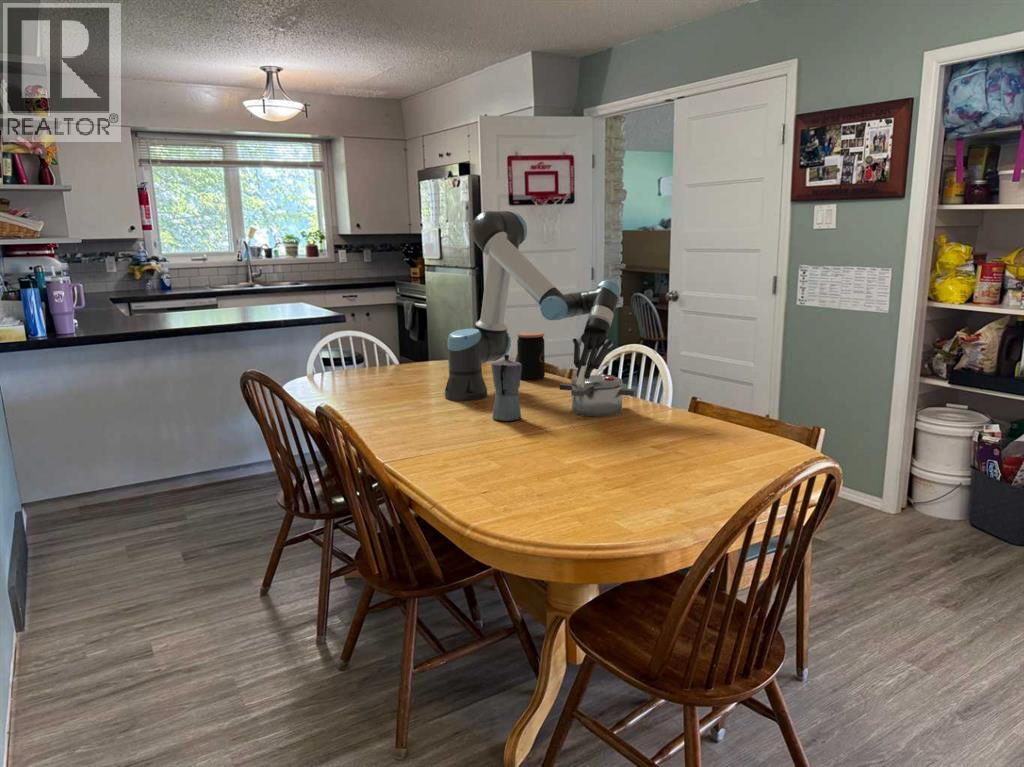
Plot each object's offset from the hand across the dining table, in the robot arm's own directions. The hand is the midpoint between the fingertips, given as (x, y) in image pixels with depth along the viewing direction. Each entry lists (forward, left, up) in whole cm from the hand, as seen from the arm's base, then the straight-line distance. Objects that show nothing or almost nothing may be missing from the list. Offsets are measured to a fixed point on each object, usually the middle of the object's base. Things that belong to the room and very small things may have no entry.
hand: (579, 386), depth 207 cm
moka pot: (-22, -4, -11) cm, 25 cm away
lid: (0, +12, -3) cm, 12 cm away
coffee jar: (-42, +55, -12) cm, 70 cm away
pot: (0, +17, -11) cm, 20 cm away
